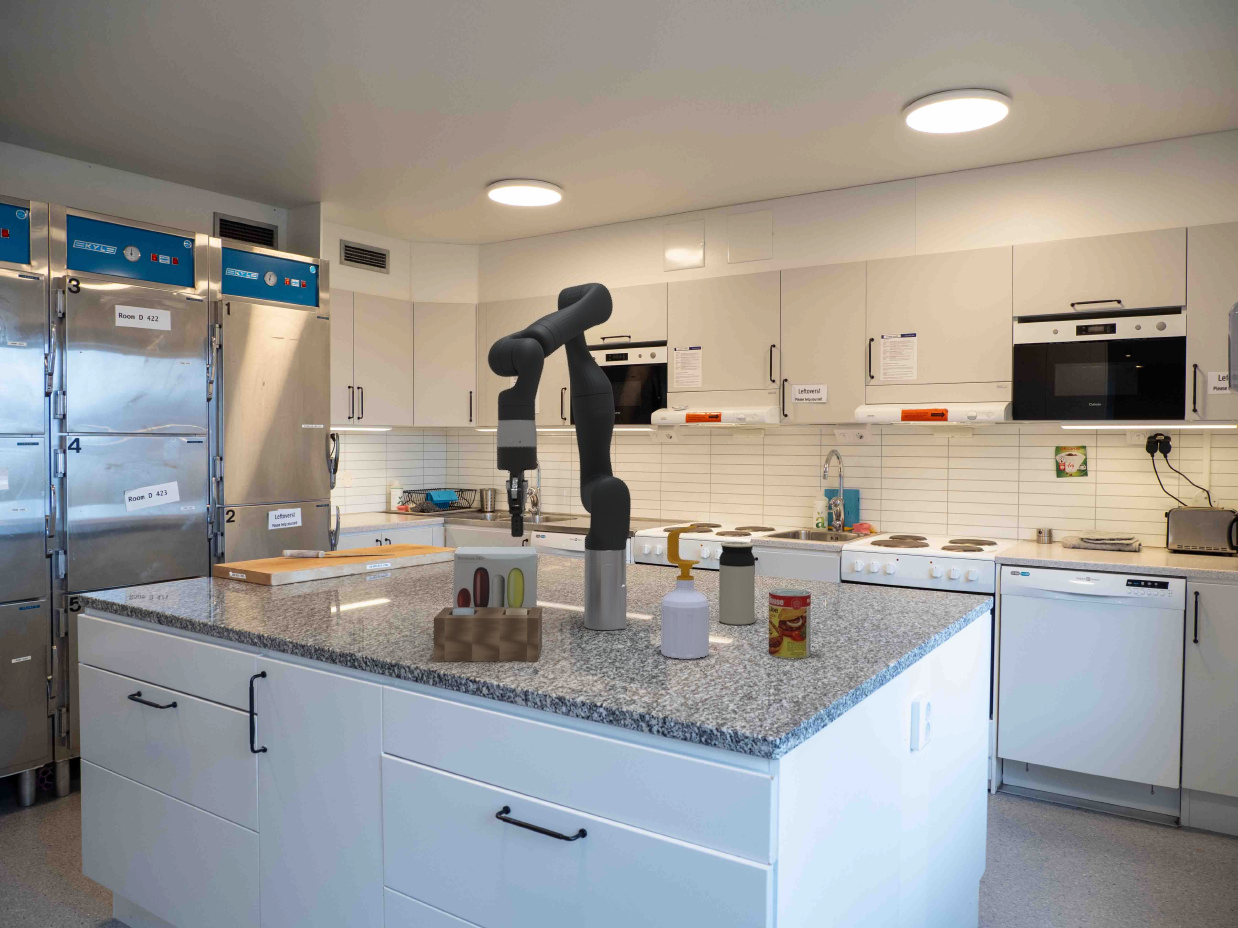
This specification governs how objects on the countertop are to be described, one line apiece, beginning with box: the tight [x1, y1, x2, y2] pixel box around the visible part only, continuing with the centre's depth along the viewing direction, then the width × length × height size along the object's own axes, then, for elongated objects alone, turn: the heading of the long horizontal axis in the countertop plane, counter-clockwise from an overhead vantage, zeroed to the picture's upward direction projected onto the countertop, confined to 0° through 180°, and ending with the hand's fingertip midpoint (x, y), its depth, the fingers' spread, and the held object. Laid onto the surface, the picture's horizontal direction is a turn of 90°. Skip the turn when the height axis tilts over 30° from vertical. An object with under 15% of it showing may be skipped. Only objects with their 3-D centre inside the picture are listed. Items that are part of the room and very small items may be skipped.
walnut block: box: [433, 606, 543, 663], centre depth 159 cm, size 19×11×8 cm, turn 91°
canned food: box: [768, 587, 812, 659], centre depth 160 cm, size 8×8×12 cm
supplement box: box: [452, 545, 538, 607], centre depth 177 cm, size 17×13×18 cm
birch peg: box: [506, 608, 527, 615], centre depth 159 cm, size 4×4×8 cm
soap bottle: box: [660, 525, 710, 660], centre depth 159 cm, size 9×9×25 cm
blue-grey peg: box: [453, 608, 474, 615], centre depth 159 cm, size 4×4×8 cm
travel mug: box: [718, 541, 756, 626], centre depth 191 cm, size 8×8×18 cm
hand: (517, 536), depth 158 cm, fingers closed
